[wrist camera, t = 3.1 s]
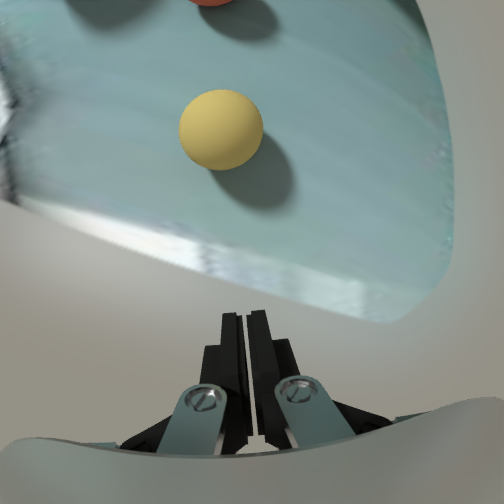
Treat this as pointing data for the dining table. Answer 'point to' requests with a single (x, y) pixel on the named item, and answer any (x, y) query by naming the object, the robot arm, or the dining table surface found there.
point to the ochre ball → (220, 129)
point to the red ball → (210, 2)
